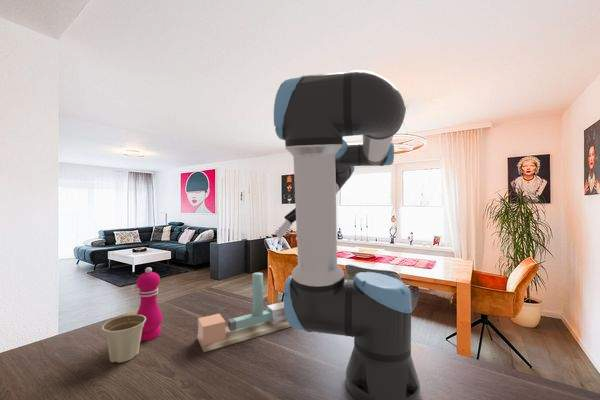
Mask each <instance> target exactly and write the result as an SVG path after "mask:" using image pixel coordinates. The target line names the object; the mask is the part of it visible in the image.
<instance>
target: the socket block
mask: <svg viewBox="0 0 600 400" xmlns="http://www.w3.org/2000/svg"><path fill="white" fill-rule="evenodd" d="M225 327H226V320H225V319H224V317H223V316H222V315H221V313H215V314H211V315H207V316H203V317H198V318H197V334H198V337H199V339H200V341H201V343H202V345H203V346H204V345H208V344H211V343H215V342H219V341H222V340H225Z"/></svg>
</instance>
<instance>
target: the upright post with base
mask: <svg viewBox="0 0 600 400" xmlns="http://www.w3.org/2000/svg"><path fill="white" fill-rule="evenodd" d="M251 276H252V277H251V278H252V279H251V280H252V281H251V282H252V285H251V287H252V288H251V289H252V293H251V294H252V296H251V297H252V299H251V300H252V301H251V302H252V304H251V306H252V308H251V309H252V311H251V313H250V314H245V315H241V316H237V317H232V318H229V319H227V327H228V329H229V330H230V331H234V330H237V329H241V328H245V327H248V326H252V325H256V324H259V323H263V322H267V321H271V320H272V311H270V310H267V309H266V310H264V273H263V272H260V271H259V272H254V273H252V275H251Z"/></svg>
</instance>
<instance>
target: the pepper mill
mask: <svg viewBox="0 0 600 400" xmlns="http://www.w3.org/2000/svg"><path fill="white" fill-rule="evenodd" d="M160 283H161V277H160V275H159V273H156V272H154V271H153V269H152V267H149V266H148V267H146V268H145V269H144V273H141V274H140V275H139V276H138V277H137V279H136V286H137V288H138V289H139V290H138V296H139V298H140V303H139V307H138V311H137V313H136V314H135V315H143V316H145V317H146V321H145V323H144V326H143V328H142V334H141V340H140V342H145V341H150V340H154V339H156V338H157V337H159V336H160V335H161V333H162V327H161V324H162V322H163V314H162V311H161V308H160V307H159V305H158V302H157V300H158V299H157V295H158V293H159V288H158V286H159V285H160Z"/></svg>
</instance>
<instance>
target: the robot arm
mask: <svg viewBox="0 0 600 400" xmlns="http://www.w3.org/2000/svg"><path fill="white" fill-rule="evenodd" d="M405 116H406V106H405V101H404V99H403V96H402V94H401V93H400V91H399V90H398V89H397V87H396V86H395V85H394V84H393V83H392V82H391V81H389V80H388V79H387V78H385V77H383V76H382V75H380V74H377V73H374V72H372V71H370V70H369V71H368V70H362V69H361V70H360V69H359V70H351V71H343V72H334V73H332V72H330V73H322V74H310V75H309V74H308V75H306V74H305V75H302V76H298V77H293V78H292V77H291V78H288V79H285V80H284V81H283V82H281V84H280V85H279V87H278V89H277V91H276V94H275V98H274V105H273V125H274V127H275V129H274V132H275V134H276V136H277V137H278V139H279V140H283V141H284V142H285V143H284V145H285V150H286V151H288V152H289V153H290V154H291V155H292V157H293V175H294V177H293V178H294V180H293V181H294V199H295V202H294V203H295V208H293V209H292V210H291V211H290V212H288V213H287V214H286V215H285V216H284V219H285V220H284V222H283V223H282V224H281V225H280V226H279V228H278V229H277V230H276V231H275V233H274V234H275V235H276V236H277V237H278V238H279V240H280V239H282V238H283V236H284V235H285V234H286V233H287V231H288V230H289V229H290V228H291V227H292V226H293V223H294V222H295V227H296V237H295V240H296V245H297V246H296V247H297V265H296V266H295V267H294V268H293V269H292V270H291V274H290V275H288V277H287V278H286V280H285V283H284V287H283V301H282V302H284V311H285V315H286V319H287V321H288V323H289V324H290V325H291V328H293V329H295V330H300V331H304V332H307V333H318V334H328V335H337V336H343V337H344V336H345V337H352V338H354V339H353V341H354V342H353V349H352V351H351V355H350V356H349V359H348V363H347V365H346V370H345V384H346V388H347V390H348V392H349V394H350V395H351V396H352V398H353V399H355V400H420V399H421V383H420V379H419V376H418V372H417V371H416V367H415V364H414V360H413V357H412V312H413V305H412V292H411V289H410V288H409V286H407V284H405V283H404V282H403V281H401V279H398V278H395V277H394V276H393V277H392V276H390V275H387V274H383V273H377V272H371V271H366V272H363V271H360V272H357V273H356V274H355V275H354V277H353V279H348V278H347V279H346V278H345V272H344V269H343V268H342V267H341V266H340V265H339V264H338V249H337V247H338V246H337V243H338V242H337V194H338V193H339V191H340V190H341V189H342V188H343V186H344V185H345V184H346V183H347V182H348V180H349V179H350V178H351V177H352V176H353V173H354V172H355V167H370V166H371V167H373V166H374V167H376V166H377V167H378V166H380V167H384V166H391V165H393V163H394V159H395V144H394V143H393V138H394V135H396V134H397V132H399V130H400V129H401V127H402V125H403V123H404V120H405ZM353 136H362V143H359V142H358V143H356V142H355V143H348V142H347V139H345V138H344V137H353Z"/></svg>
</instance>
